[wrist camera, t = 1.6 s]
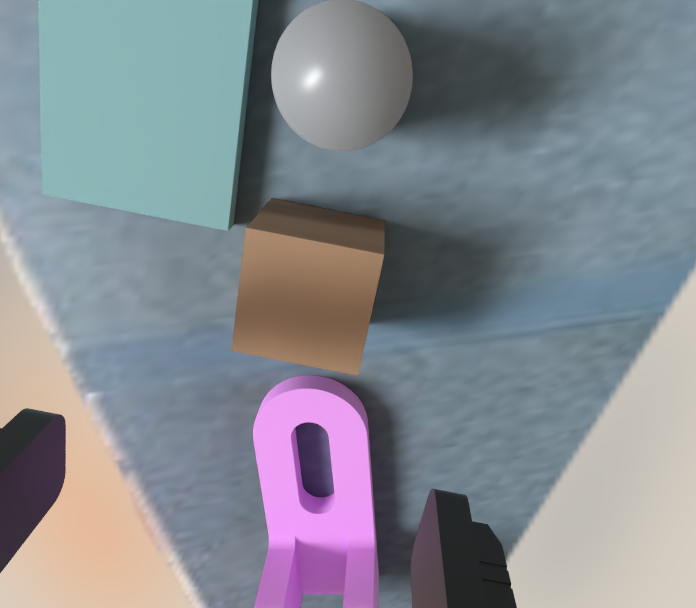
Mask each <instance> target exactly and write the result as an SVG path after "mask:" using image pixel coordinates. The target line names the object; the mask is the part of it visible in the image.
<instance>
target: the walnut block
mask: <svg viewBox="0 0 696 608" xmlns="http://www.w3.org/2000/svg"><path fill="white" fill-rule="evenodd" d="M384 247H385V220H380V219H375V218H370V217H365V216H360V215H355V214H350V213H344V212H339V211H334V210H329V209H324V208H319V207H314V206H309V205H304V204H299V203H293V202H288V201H283V200H278V199H273V198H271V200H270V201H269V202H268V203H267V204H266V205H265V206H264V208H263V209H262V210H261V211H260V212H259V213H258V214H257V216H256V217H255V218H254V219H253V220H252V221H251V222H250V224H249V225H248V226H247V227H246V232H245V241H244V249H243V257H242V266H241V274H240V283H239V291H238V299H237V308H236V316H235V325H234V333H233V341H232V350H231V351H234V352H239V353H245V354H250V355H255V356H260V357H265V358H270V359H276V360H281V361H286V362H291V363H296V364H301V365H307V366H312V367H317V368H322V369H327V370H332V371H337V372H343V373H348V374H353V375H358V373H359V369H360V364H361V359H362V355H363V350H364V346H365V341H366V337H367V332H368V327H369V323H370V318H371V314H372V309H373V304H374V300H375V295H376V291H377V286H378V281H379V277H380V272H381V268H382V263H383V258H384Z"/></svg>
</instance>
